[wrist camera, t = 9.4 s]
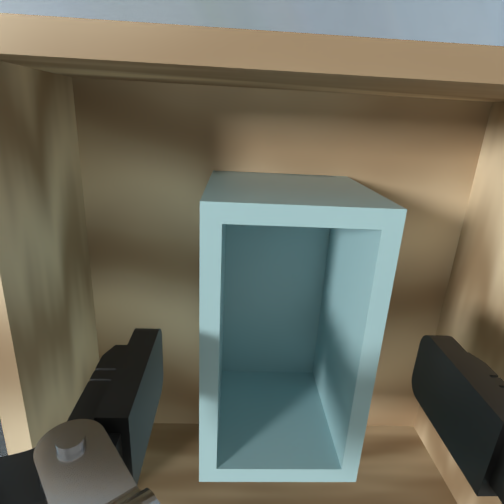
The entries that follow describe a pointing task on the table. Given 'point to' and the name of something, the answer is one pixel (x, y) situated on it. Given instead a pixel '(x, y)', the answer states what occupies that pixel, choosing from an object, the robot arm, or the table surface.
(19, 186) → the large crate
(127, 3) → the table surface
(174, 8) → the table surface
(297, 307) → the small crate
